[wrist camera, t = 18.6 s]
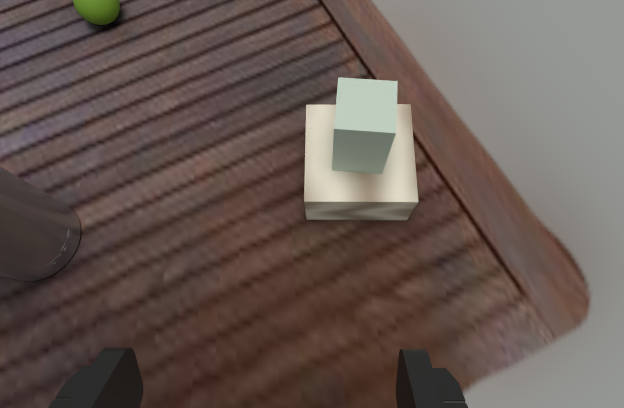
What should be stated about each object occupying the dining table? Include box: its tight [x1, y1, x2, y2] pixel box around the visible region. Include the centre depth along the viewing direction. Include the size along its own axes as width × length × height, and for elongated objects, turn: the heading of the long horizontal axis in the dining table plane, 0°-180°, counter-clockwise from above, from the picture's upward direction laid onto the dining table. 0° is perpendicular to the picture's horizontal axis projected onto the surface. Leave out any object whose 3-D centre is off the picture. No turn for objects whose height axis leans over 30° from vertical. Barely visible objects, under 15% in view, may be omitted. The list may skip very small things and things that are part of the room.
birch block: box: [304, 104, 418, 220], centre depth 44 cm, size 11×11×6 cm
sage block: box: [332, 78, 397, 174], centre depth 37 cm, size 5×5×8 cm
